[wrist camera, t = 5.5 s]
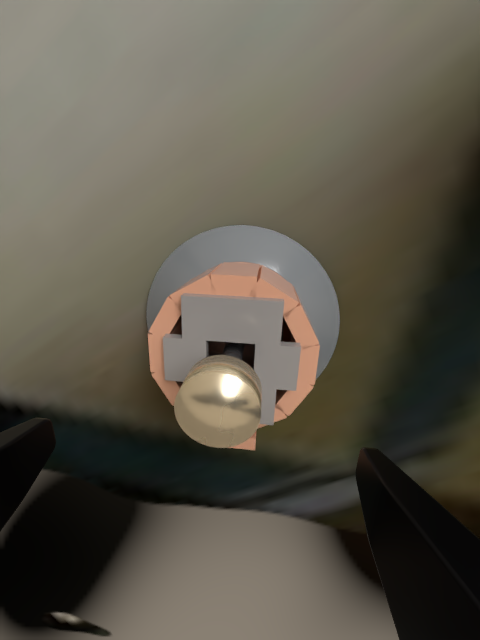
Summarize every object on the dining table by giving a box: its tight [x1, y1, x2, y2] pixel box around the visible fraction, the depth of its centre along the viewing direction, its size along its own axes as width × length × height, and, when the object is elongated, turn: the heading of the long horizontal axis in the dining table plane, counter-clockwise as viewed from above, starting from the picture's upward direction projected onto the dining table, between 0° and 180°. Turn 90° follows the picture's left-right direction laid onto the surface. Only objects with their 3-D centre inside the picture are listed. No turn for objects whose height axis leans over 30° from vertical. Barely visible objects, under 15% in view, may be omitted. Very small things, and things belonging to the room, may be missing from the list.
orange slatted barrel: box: [148, 262, 320, 450], centre depth 16 cm, size 10×8×5 cm
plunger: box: [174, 324, 283, 448], centre depth 14 cm, size 5×5×8 cm
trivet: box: [147, 225, 340, 380], centre depth 18 cm, size 12×12×1 cm
